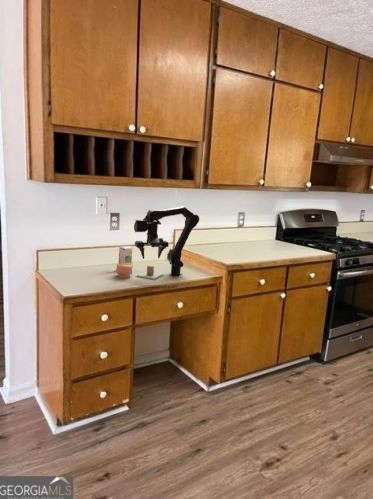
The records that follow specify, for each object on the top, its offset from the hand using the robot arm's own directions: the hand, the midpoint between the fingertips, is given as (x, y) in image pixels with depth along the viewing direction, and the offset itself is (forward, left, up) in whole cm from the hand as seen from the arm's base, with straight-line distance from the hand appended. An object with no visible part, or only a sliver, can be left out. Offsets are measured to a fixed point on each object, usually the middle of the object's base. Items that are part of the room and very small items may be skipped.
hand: (151, 258), depth 217 cm
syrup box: (-5, -20, -11) cm, 24 cm away
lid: (0, 0, -10) cm, 10 cm away
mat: (0, 0, -11) cm, 11 cm away
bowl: (+9, -12, -11) cm, 19 cm away
